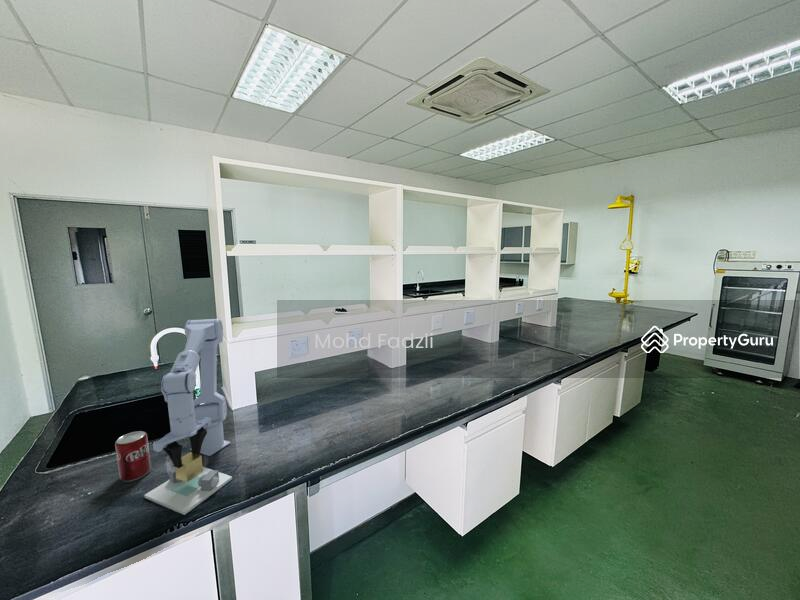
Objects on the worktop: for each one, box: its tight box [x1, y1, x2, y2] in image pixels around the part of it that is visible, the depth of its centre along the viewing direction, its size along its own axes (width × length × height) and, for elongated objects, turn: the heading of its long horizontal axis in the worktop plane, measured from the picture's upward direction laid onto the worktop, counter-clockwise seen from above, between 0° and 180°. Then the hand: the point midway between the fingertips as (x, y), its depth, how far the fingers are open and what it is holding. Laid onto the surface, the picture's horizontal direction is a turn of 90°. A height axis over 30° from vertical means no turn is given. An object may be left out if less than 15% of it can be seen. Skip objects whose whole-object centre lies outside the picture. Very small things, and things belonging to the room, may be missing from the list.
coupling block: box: [175, 451, 204, 482], centre depth 88 cm, size 4×4×5 cm
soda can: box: [114, 430, 152, 483], centre depth 94 cm, size 7×7×12 cm
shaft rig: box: [143, 466, 233, 516], centre depth 89 cm, size 16×14×4 cm
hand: (187, 461), depth 88 cm, fingers closed on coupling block, 4 cm apart
